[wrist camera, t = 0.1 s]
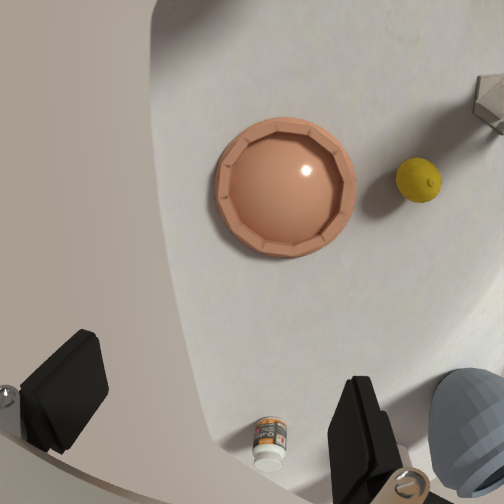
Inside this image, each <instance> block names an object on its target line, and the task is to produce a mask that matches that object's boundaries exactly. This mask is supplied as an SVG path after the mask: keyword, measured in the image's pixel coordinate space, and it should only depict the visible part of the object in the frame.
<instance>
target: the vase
mask: <svg viewBox="0 0 504 504" xmlns="http://www.w3.org/2000/svg"><path fill="white" fill-rule="evenodd" d="M428 442H429V448H430V454H431V461H432V467H433V471H434V473H435V474H436V475H437V477H438V478H439V479H440V481H441V483H442V484H443V485H444V486H445V487H447V488H450V489H454V490H457V495H458V496H459V497H461V498H477V497H480V496H484V495H486V494H488V493H490V492H492V491H494V490H495V489H497V488H499V487H500V486H502V485H503V484H504V378H503V377H500V376H498V375H496V374H494V373H491V372H489V371H487V370H483V369H476V368H464V369H458V370H456V371H454V372H452V373H450V374H449V375H447V376H446V377H445V378H444V379H443V380H442V381H441V382H440V384H439V385H438V387H437V389H436V391H435V393H434V395H433V398H432V402H431V407H430V411H429V430H428Z"/></svg>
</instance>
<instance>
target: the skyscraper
mask: <svg viewBox="0 0 504 504" xmlns="http://www.w3.org/2000/svg"><path fill="white" fill-rule="evenodd" d="M473 113H474V114H475V115H477V116H478V117H480V118H481V119H482V120H484V121H485V122H487V123H488V124H490V125H491V126H492V127H494V128H495V129H496V130H498V131H499V132H500V133H502V134H503V135H504V74H491V75H480V76H479V78H478V86H477V93H476V99H475V105H474V111H473Z"/></svg>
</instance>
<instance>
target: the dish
mask: <svg viewBox="0 0 504 504" xmlns="http://www.w3.org/2000/svg"><path fill="white" fill-rule="evenodd" d="M356 190H357V189H356V177H355V172H354V168H353V165H352V162H351V160H350V158H349V156H348V154H347V152H346V151H345V149H344V148H343V146H342V145H341V144H340V143H339V142H338V140H337V139H336V138H335V137H333V136H332V135H331V134H330V133H329V132H327V131H326V130H325V129H323V128H322V127H320V126H318V125H316V124H314V123H311V122H308V121H305V120H302V119H297V118H287V117H282V118H273V119H268V120H264V121H261V122H258V123H256V124H254V125H252V126H250V127H248V128H247V129H245V130H244V131H242V132H241V133H240V134H239V135H238V136H237V137H235V138H234V139H233V141H232V142H231V143H230V144H229V145H228V147H227V148H226V150H225V151H224V153H223V155H222V157H221V159H220V161H219V164H218V168H217V171H216V177H215V197H216V202H217V206H218V209H219V212H220V215H221V217H222V219H223V221H224V222H225V224H226V226H227V227H228V228H229V230H230V231H231V232H232V233H233V234H234V236H235V237H236V238H237V239H239V240H240V241H241V242H242V243H243V244H245V245H246V246H248V247H250V248H251V249H253V250H255V251H257V252H259V253H262V254H265V255H269V256H274V257H282V258H291V257H299V256H304V255H307V254H310V253H313V252H315V251H317V250H320V249H321V248H323V247H325V246H326V245H328V244H329V243H330V242H331V241H333V240H334V239H335V238H336V237H337V236H338V235H339V234H340V233H341V231H342V230H343V229H344V227H345V226H346V224H347V222H348V220H349V219H350V217H351V214H352V211H353V209H354V204H355V200H356Z"/></svg>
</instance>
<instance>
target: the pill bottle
mask: <svg viewBox="0 0 504 504" xmlns="http://www.w3.org/2000/svg"><path fill="white" fill-rule="evenodd" d="M286 436H287V426H286V423H285V422H284V421H283V420H281V419H279V418H276V417H266V418H263V419H261V420H259V421H258V423H257V425H256V430H255V437H254V444H253V450H252V452H253V456H254V457H255V459H254V467H255V468H256V469H258V470H260V471H263V472H275V471H278V470H279V469H281V467H282V459H283V458H284V457H285V454H286Z"/></svg>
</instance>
